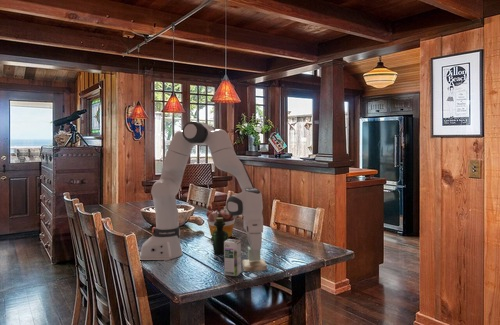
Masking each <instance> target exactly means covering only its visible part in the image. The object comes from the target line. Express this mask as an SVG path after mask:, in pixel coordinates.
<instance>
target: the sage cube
mask: <svg viewBox="0 0 500 325" xmlns="http://www.w3.org/2000/svg"><path fill="white" fill-rule="evenodd" d="M248 259H249V261H257V260H260V259H261V250H260V251H257V258H253V250H252V248H251V247H250V246H247V260H248Z"/></svg>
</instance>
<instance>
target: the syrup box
mask: <svg viewBox="0 0 500 325" xmlns="http://www.w3.org/2000/svg"><path fill="white" fill-rule="evenodd" d="M223 256H224V258H223V259H224V276H229V277H237V276H239V275H240V274H241V273H242V240H241V239H234V238H233V239H231V238H228V240H226V241H225V242H224V255H223Z"/></svg>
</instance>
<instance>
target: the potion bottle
mask: <svg viewBox="0 0 500 325" xmlns="http://www.w3.org/2000/svg"><path fill="white" fill-rule="evenodd" d="M224 225H226V224H225V222H223V218H222V217H218V218H216V222H215V223H214V226H216V228H217V231H215V232H214V233H213V234H212V236H211V240H212V246H213V247H212V248H213V254H214V255H216V256H224V242H225V241H226V240H228V239H229V238H228V233H227V232H225V231H223V226H224Z"/></svg>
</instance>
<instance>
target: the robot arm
mask: <svg viewBox="0 0 500 325" xmlns="http://www.w3.org/2000/svg"><path fill="white" fill-rule="evenodd" d="M195 146H198V147H208V149H209V152H210V155H211V160H212V161H213V164H214V166H215V167H216V168H217V169H218V170H220V171H222V172H225V173H228V174H230V175H232V176H233V177H234V178H236V180H237V183H238V185H239V187H240V189H241V192H239V193H237V194H233V195H230V196H229V197H228V198H227V199H226V203H225V206H226V207H227V210H228V212H229V213H230V214H231V215H233V216H237V217H238V216H243V218H242V222H243V225H242V226H243V230H245V231H246V236H247V237H246V238H247V241H248V243H249V247H251V248H252V250H253V258H257V251H260V252H261V250H262V242H263V241H262V238H263V236H262V233H264V217H263V216H264V215H263V211H264V210H263V209H264V204H263V203H264V202H263V195H262V191H261V190H260V189H258V188H255V186H254V184H253V182H252V180H251V177H250V175H249V172H248V170H247V169H246V167H245V165H244V163H243V162H242V161H241V160H240V159H239V157H238V155H237V154H236V151H235V148H234V145H233V143H232V140H231V138H230V136H229V134H228V133H227V131H226V130H224V129H221V128H220V129H219V128H218V129H217V128H215V127H214V126H213V125H210V124H208V123H206V122H200V121H198V120H190V121H189V122H186V123H185V124H184V126H183V128H182V129H181V130H177V131H176V132H175V133H174V135H173V137H172V138H171V140H170V142H169V145H168V147H167V151H166V154H165V156H164V159H163V162H162V169H161V173H160V177H159V179H158V180H156V181H155V182H154V183H153V185H152V186H151V190H150V195H151V197H152V200H153V201H152V202H153V206H154V210H155V226H153V227H152V229H151V234H152V236H150V237H149V238H148V239H146V240H145V241H144V242H142V245H141V249H140V250H141V251H139V252H138V253H140V258H141V260H164V261H165V262H166V261H170V260H172V259H175V258H180V257H181V256H183V254H184V253H183V250H182V246H181V239H180V237H181V229H180V228H181V226H179V210H178V206H177V200H176V196H177V195H178V193H179V191H180V188H181V185H182V181H183V178H184V174H185V170H186V167H187V164H188V161H189V158H190V156H191V153H192V150H193V148H194V147H195ZM164 261H163V262H164Z"/></svg>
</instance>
